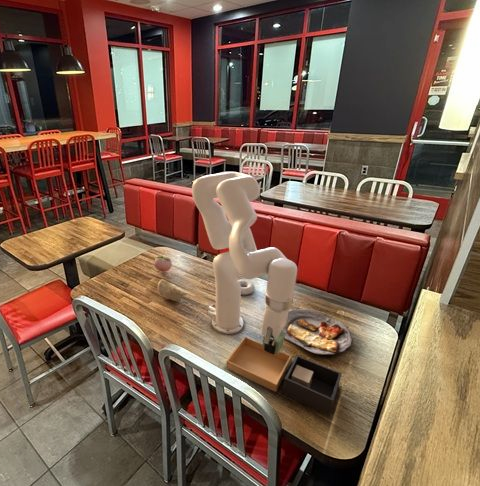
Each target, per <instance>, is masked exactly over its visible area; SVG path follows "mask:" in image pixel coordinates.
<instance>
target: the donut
mask: <svg viewBox="0 0 480 486" xmlns="http://www.w3.org/2000/svg"><path fill="white" fill-rule="evenodd" d="M237 281H238V282H239V283H240V285H241V295H242V296H246V295H251V294H253V292H254V291H255V284H254V283H253V282H252V281H250V280H249V279H237Z"/></svg>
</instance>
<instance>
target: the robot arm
mask: <svg viewBox="0 0 480 486" xmlns="http://www.w3.org/2000/svg"><path fill="white" fill-rule="evenodd" d="M260 193H261V188H260V185H259V182H258V181H257V179H255V178H254V176H252V175H250V174H245V173H241V172H237V171H227V172H221V173H213V174H207V175H203V176H200V177H198V178H195V180H194V181H193V183H192V185H191V196H192V200H193V202H194V204H195V206H196V208H197V209H198V211H199V213H200V215H201V217H202V220H203V224H204V228H205V230H206V231H205V232H206V234H207V238H208V240H209V243H210V245H211V247H212V248H213V249H214V250H225V249H228V251H225V252H221V253H219V254H217V255H216V256H215V257H214V258H213V260H212V268H213V273H214V282H215V307H213V306H211V305H210V306H208V308H207V310H208V312H207V315H209V316H211V317H212V318H211V325H212V327H213V329H214V330H215V331H217V332H219V333H222V334H229V335H231V334H236V333H238V332H240V331H242V329H243V327H244V324H245V323H244V322H245V321H244V319H243V317H242V316H241V301H242V300H241V299H242V298H241V297H242V296H241V295H242V294H241V285H240V283H239V282H238V279H237V278H238V277H240V276H241V277H243V279H245V280H252V279H257V278H260V277H263V276H266V275H267V279H266V280H267V281H266V291H265V300H264V303H265V309H264V312H263V318H262V324H261V329H260V334H261V335H263V336H264V335H265V333H266V332H267V334H266V337H265V340H264V343H265V346H264V351H266V352H268V353H271V354H273V355H274V353H275V347H276V344H275V341H276V339H277V338H278V336H279V335H280V333H281V332H282V331H283V328H284V326H285V324H286V322H287V318H288V312H289V311H291V309H292V307H293V302H294V294H295V289H296V282H297V276H298V266H297V264H296V263H295V262H294V261H293V260H290V259H288V258H287V257H286V255H284V253H283V252H282V251H281V250H280V249H278V248H277V247H273V246H272V247H271V246H270V247H266V248H262V249H258V248H257V245H256V243H255V238H254V235H253V233H252V229H251V227H252V226H253V225H254V224H255V223H256V221H257V220H258V215H257V212H256V211H255V209H254V207H253V205H252V203H251V202H252V201H255V200H257V199H258V198H259V196H260ZM214 199H218V201H219V203H218V202H217V201H215V200H214ZM271 337H272V338H273V341H271V340H270V338H271Z"/></svg>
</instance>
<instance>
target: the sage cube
mask: <svg viewBox="0 0 480 486" xmlns="http://www.w3.org/2000/svg"><path fill="white" fill-rule="evenodd" d="M266 334H267V332H266V333H265V335H263V338H262V344H263V345H262V348H263V349H264V346H265V343H264V340H265V337H266ZM270 340H271V341H273V338H272V337H271V338H270ZM275 344H276V347H275V353H274V354H277V355H278V353H279V352H280V351H282V348H283V346H284V344H285V333H284V332H281V333H280V335H279V336H278V338H277V339H276V341H275Z"/></svg>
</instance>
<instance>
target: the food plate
mask: <svg viewBox="0 0 480 486" xmlns="http://www.w3.org/2000/svg"><path fill="white" fill-rule="evenodd" d="M282 332H284V333H285V337H284V339H286V340H288V341H290V342H291V343H293V344H295V345H297V346H298V347H300V348H302V349H304V350H306V351H308V352H310V353H313V354H315V355H319V356H336V355H339V354H343V353H344V352H346V351H347V350H348V349H349V348H351V346H352V344H353V337H352V333H351V330H350V329H348V327H346V325H345V324H344V323H343V322H341V321H340V320H339V319H337V318H335V317H334V316H331V315H328V314H326V313H324V312H321V311H318V310H316V309H311V308H298V309H292V310H291V309H290V310H289V312H288V318H287V322H286V324H285V326H284V328H283V331H282Z"/></svg>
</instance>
